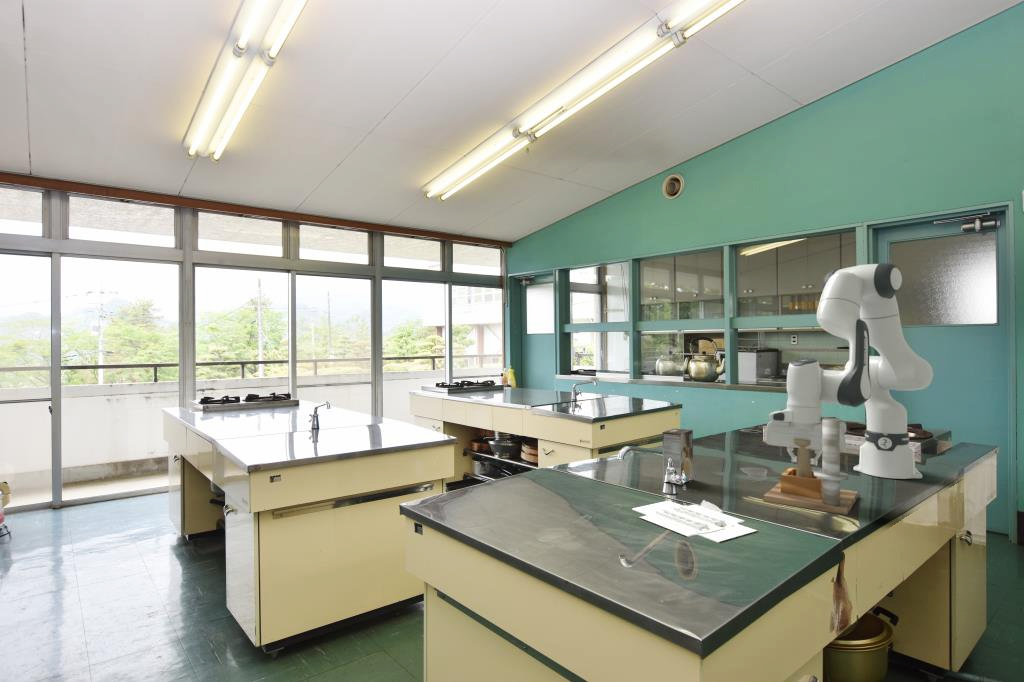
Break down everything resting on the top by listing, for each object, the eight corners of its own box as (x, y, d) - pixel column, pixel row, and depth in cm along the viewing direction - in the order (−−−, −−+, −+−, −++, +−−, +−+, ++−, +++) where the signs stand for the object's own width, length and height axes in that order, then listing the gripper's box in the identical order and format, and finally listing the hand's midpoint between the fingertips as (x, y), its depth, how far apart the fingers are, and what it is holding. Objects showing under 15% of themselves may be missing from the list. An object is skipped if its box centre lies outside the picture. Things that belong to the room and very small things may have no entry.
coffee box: (674, 476, 179) (674, 427, 179) (693, 479, 175) (693, 429, 175) (662, 482, 172) (662, 431, 172) (681, 485, 168) (681, 433, 168)
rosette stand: (781, 485, 167) (780, 409, 167) (857, 497, 155) (857, 414, 155) (762, 501, 151) (762, 417, 151) (846, 516, 139) (846, 423, 138)
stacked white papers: (709, 549, 119) (708, 532, 119) (622, 518, 143) (621, 504, 144) (767, 531, 130) (766, 516, 130) (676, 505, 154) (676, 492, 154)
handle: (790, 491, 156) (790, 438, 156) (800, 487, 160) (800, 436, 160) (808, 494, 152) (807, 441, 152) (818, 490, 156) (817, 438, 156)
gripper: (847, 417, 152) (848, 467, 152) (769, 411, 165) (769, 457, 165) (844, 420, 147) (844, 471, 147) (763, 414, 160) (763, 461, 160)
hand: (804, 464), depth 156 cm, fingers closed on handle, 3 cm apart
